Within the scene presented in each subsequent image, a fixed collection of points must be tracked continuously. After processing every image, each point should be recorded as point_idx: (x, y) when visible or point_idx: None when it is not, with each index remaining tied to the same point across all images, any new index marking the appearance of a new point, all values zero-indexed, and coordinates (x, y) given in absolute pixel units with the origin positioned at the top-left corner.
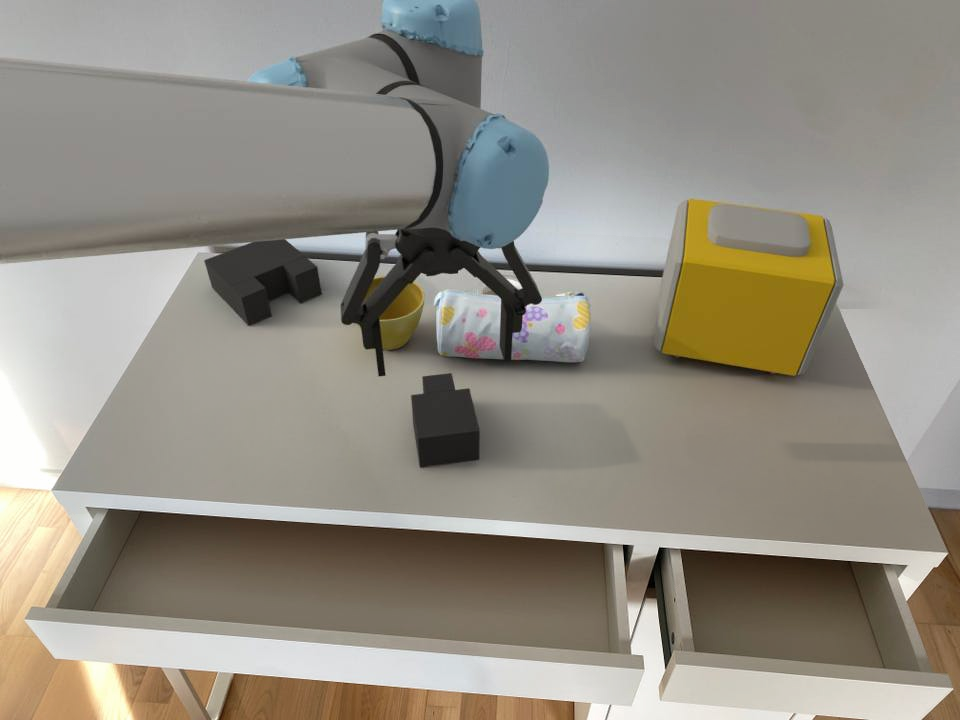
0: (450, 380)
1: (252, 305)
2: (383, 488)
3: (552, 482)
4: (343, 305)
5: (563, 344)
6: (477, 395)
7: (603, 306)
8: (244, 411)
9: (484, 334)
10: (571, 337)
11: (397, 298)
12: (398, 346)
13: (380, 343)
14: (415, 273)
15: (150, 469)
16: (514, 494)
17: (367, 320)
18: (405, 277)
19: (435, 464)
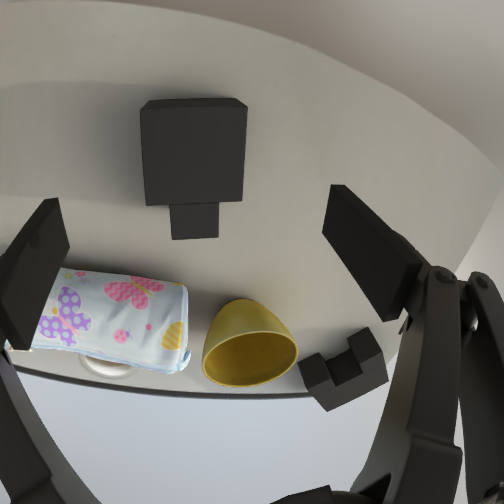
0: (175, 224)
1: (369, 345)
2: (291, 75)
3: (59, 59)
4: (474, 324)
5: None
6: (137, 218)
7: None
8: (403, 226)
9: (119, 304)
10: None
11: (230, 361)
12: (233, 302)
13: (382, 232)
14: (417, 498)
15: (472, 174)
16: (112, 38)
17: (446, 283)
18: (451, 460)
19: (213, 98)
